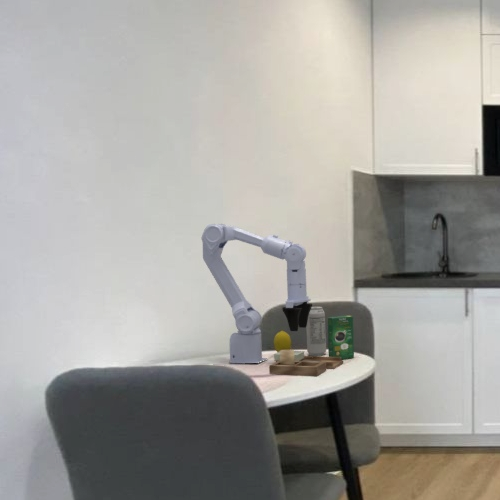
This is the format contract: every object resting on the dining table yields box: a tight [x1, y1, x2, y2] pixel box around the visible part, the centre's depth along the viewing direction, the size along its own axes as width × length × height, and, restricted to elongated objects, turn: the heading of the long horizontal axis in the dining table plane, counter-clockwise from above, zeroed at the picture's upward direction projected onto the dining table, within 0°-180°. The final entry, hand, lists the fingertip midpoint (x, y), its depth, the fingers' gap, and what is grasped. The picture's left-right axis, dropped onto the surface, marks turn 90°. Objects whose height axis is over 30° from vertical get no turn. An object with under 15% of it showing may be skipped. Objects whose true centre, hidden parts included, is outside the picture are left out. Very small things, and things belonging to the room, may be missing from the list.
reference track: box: [274, 355, 344, 370], centre depth 213 cm, size 18×9×2 cm, turn 66°
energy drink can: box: [306, 306, 327, 356], centre depth 230 cm, size 6×6×15 cm
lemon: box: [273, 330, 292, 353], centre depth 230 cm, size 6×6×8 cm
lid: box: [272, 350, 305, 362], centre depth 216 cm, size 7×7×3 cm
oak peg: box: [280, 349, 295, 366], centre depth 204 cm, size 4×4×6 cm
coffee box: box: [327, 315, 355, 360], centre depth 220 cm, size 8×3×13 cm, turn 118°
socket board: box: [268, 360, 327, 377], centre depth 203 cm, size 14×8×2 cm, turn 66°
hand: (298, 329), depth 218 cm, fingers open, 7 cm apart
